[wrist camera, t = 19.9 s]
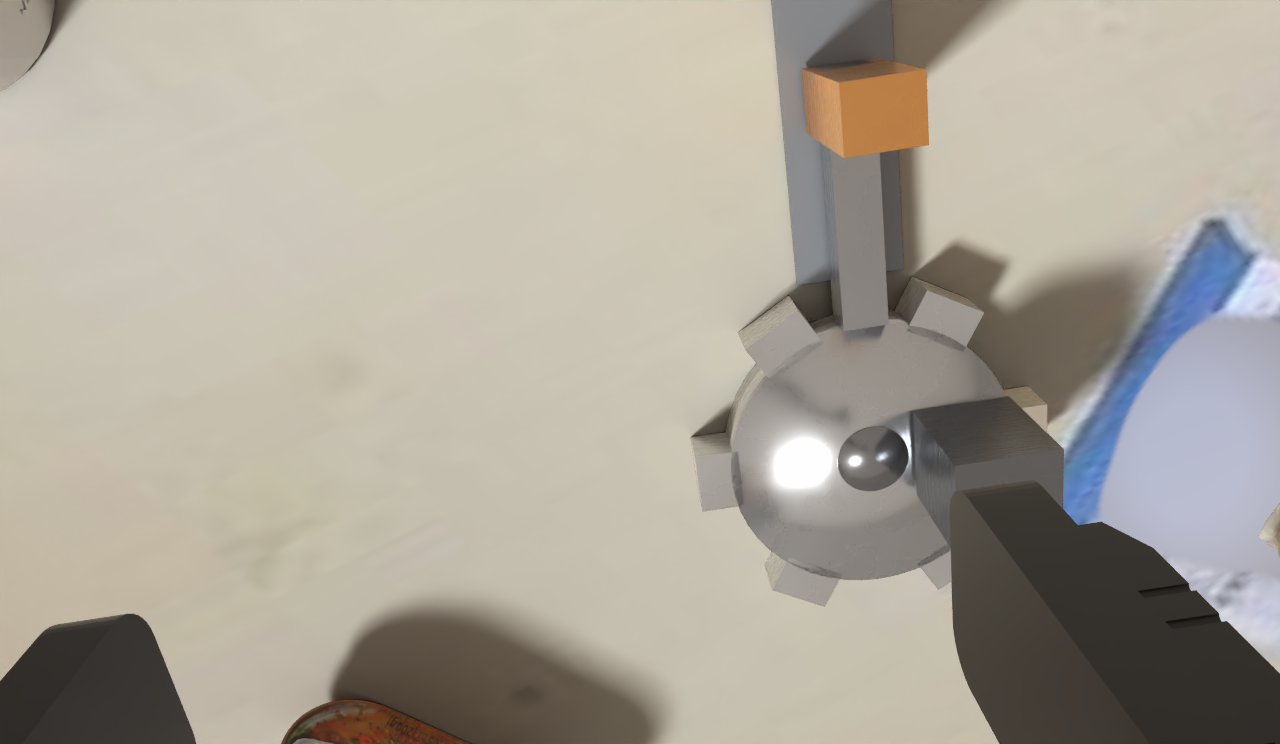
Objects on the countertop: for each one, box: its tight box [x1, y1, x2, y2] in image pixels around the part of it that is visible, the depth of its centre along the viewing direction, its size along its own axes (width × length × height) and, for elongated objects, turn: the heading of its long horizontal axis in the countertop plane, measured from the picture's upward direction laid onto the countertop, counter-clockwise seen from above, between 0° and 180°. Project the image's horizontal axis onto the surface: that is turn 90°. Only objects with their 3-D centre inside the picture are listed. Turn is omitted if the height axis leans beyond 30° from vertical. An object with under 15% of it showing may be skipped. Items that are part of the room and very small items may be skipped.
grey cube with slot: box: [913, 396, 1064, 548], centre depth 38 cm, size 4×4×5 cm
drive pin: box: [801, 57, 929, 331], centre depth 35 cm, size 3×10×6 cm, turn 8°
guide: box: [771, 0, 904, 285], centre depth 37 cm, size 4×15×1 cm, turn 8°
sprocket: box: [691, 277, 1047, 607], centre depth 42 cm, size 15×14×2 cm
